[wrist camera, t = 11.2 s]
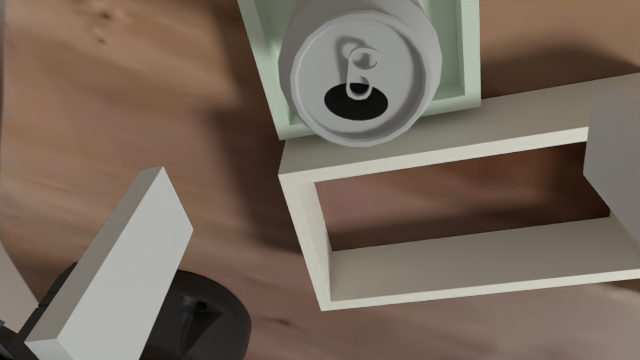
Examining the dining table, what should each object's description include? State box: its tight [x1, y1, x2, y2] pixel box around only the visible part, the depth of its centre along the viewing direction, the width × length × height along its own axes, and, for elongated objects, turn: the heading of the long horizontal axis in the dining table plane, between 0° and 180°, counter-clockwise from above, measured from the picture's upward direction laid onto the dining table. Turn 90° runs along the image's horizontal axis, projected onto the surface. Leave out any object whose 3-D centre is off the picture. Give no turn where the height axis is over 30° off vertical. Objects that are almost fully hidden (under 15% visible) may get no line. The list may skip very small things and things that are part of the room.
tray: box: [237, 0, 481, 140], centre depth 29 cm, size 14×14×3 cm
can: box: [278, 0, 442, 147], centre depth 24 cm, size 8×8×12 cm
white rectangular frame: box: [278, 73, 640, 311], centre depth 35 cm, size 26×14×6 cm, turn 102°
